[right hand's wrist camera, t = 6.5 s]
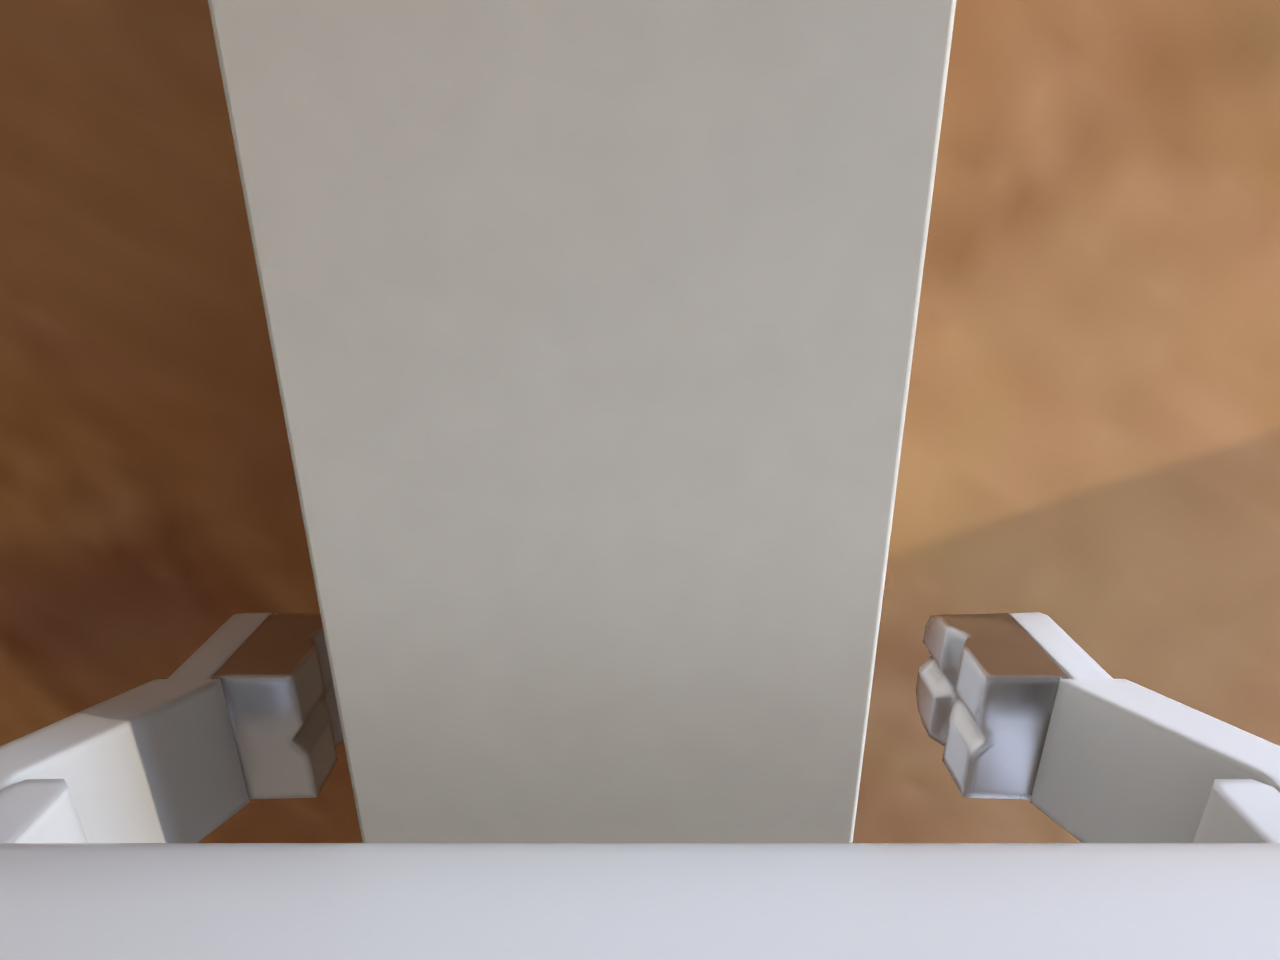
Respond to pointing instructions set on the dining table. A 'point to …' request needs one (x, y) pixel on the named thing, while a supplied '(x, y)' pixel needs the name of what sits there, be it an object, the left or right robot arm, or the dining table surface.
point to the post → (593, 392)
